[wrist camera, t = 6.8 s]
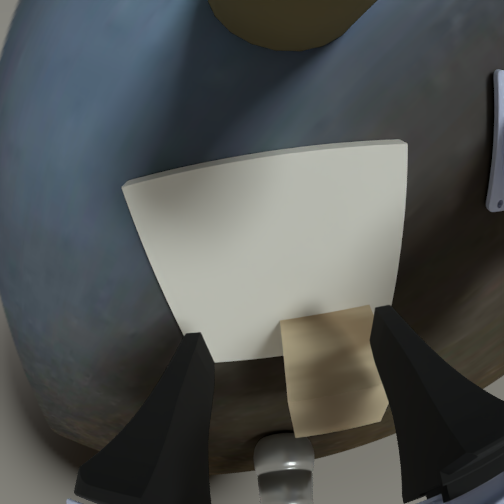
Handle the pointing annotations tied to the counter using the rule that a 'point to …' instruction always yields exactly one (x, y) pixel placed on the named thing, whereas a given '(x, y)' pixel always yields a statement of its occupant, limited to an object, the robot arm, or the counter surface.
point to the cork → (289, 21)
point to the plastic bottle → (284, 469)
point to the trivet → (273, 238)
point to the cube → (331, 372)
